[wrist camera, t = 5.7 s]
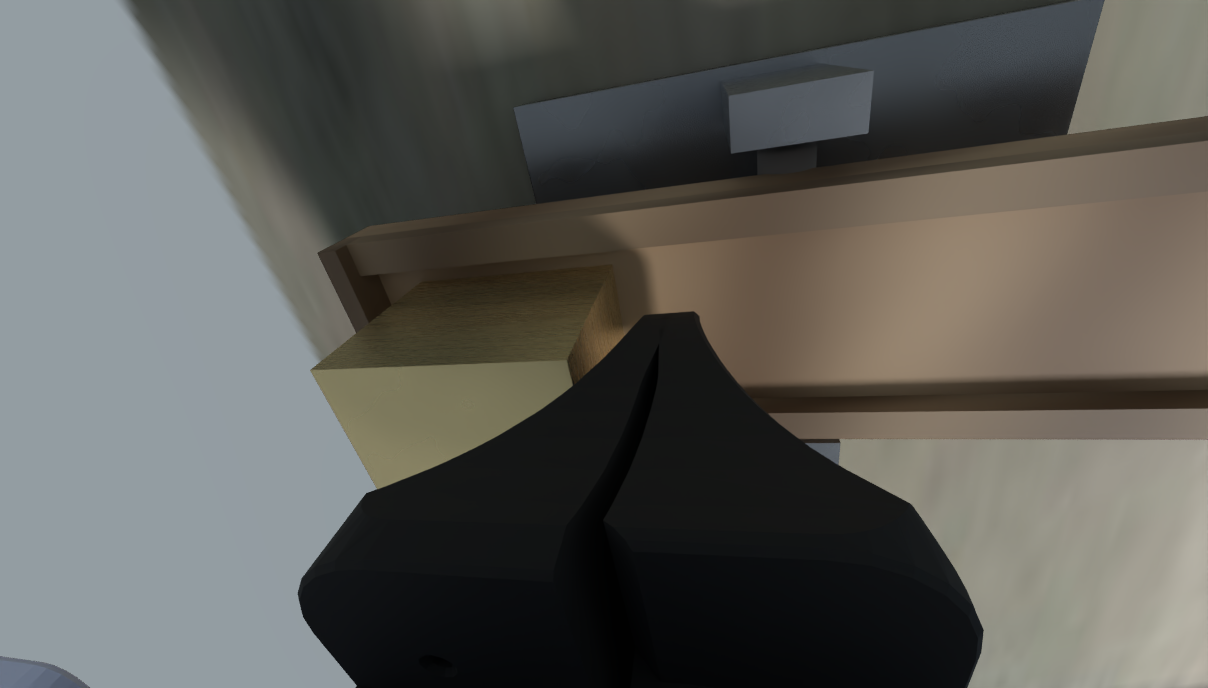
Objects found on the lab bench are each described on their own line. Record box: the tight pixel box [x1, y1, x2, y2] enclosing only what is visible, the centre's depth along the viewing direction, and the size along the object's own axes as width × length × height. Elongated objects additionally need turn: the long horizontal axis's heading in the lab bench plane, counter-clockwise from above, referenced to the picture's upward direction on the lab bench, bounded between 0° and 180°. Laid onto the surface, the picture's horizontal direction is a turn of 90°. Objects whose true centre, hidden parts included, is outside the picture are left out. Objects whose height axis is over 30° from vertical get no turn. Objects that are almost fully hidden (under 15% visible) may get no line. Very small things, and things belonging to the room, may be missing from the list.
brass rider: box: [310, 265, 625, 489], centre depth 11 cm, size 4×5×4 cm
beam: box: [318, 116, 1208, 440], centre depth 11 cm, size 21×7×3 cm, turn 100°
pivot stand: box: [513, 0, 1104, 464], centre depth 13 cm, size 10×14×5 cm
